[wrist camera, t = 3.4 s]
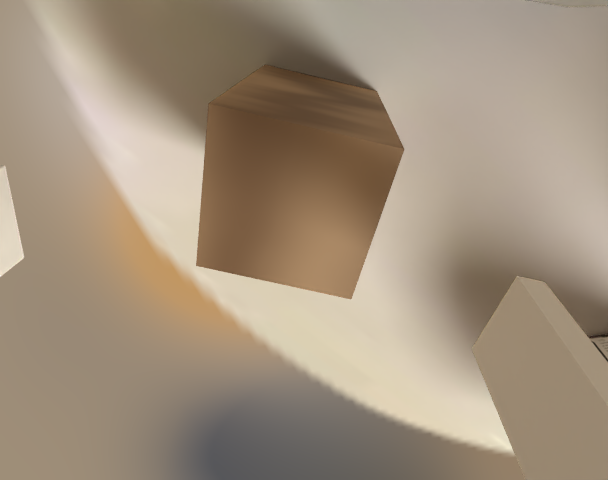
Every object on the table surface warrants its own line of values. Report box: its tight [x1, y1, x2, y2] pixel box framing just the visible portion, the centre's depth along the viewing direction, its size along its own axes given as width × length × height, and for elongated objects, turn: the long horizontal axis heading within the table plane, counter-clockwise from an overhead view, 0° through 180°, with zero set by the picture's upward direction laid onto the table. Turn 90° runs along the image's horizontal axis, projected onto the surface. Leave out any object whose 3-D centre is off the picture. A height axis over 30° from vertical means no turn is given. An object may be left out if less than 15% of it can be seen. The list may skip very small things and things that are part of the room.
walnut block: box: [196, 65, 404, 299], centre depth 17 cm, size 6×6×10 cm
